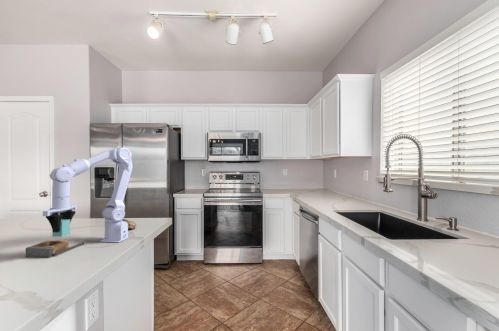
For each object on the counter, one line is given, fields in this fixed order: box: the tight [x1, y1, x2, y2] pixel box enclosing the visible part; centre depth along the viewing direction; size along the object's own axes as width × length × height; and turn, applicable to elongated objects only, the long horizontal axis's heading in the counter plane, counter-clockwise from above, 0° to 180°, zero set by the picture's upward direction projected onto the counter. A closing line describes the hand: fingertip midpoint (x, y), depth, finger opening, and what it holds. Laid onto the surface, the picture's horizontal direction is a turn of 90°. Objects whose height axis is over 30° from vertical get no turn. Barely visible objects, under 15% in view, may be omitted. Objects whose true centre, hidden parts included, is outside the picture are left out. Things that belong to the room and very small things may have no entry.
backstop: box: [25, 241, 85, 259], centre depth 102 cm, size 12×16×4 cm
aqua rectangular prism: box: [51, 219, 71, 238], centre depth 99 cm, size 4×4×6 cm
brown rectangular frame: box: [30, 239, 70, 256], centre depth 99 cm, size 9×8×4 cm
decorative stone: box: [122, 218, 137, 230], centre depth 139 cm, size 10×4×15 cm
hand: (61, 230), depth 99 cm, fingers closed on aqua rectangular prism, 4 cm apart
